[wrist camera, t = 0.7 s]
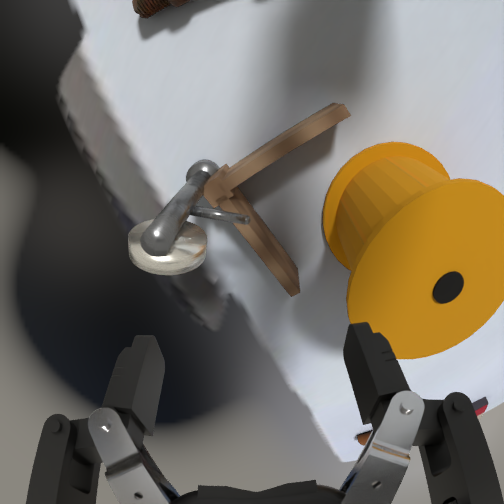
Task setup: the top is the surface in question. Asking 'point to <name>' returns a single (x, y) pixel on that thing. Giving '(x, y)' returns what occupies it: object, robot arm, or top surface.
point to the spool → (416, 247)
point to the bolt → (154, 6)
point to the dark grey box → (480, 407)
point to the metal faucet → (178, 228)
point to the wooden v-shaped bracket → (226, 179)
